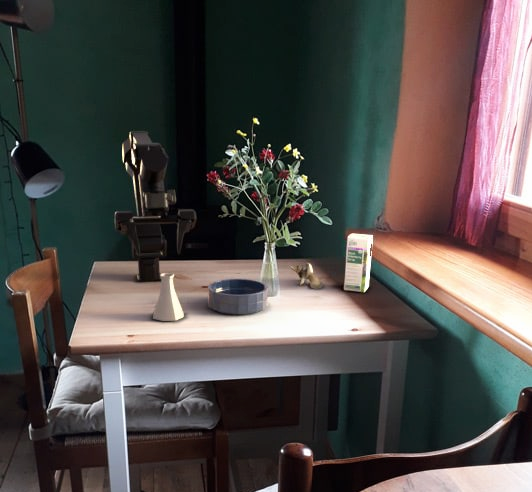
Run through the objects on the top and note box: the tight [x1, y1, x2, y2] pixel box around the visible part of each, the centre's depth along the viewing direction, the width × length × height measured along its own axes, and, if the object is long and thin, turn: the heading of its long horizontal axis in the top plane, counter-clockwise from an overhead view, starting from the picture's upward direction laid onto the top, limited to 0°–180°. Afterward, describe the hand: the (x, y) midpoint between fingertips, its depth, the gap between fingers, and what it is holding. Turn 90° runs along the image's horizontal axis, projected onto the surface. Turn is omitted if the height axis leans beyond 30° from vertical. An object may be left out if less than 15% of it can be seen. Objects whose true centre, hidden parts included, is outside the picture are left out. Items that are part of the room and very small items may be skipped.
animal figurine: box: [289, 262, 323, 290], centre depth 168 cm, size 8×7×9 cm
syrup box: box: [343, 233, 374, 293], centre depth 163 cm, size 6×6×14 cm
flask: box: [152, 272, 185, 322], centre depth 140 cm, size 7×7×10 cm
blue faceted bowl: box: [207, 278, 269, 316], centre depth 149 cm, size 14×14×5 cm
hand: (159, 254), depth 144 cm, fingers open, 9 cm apart
